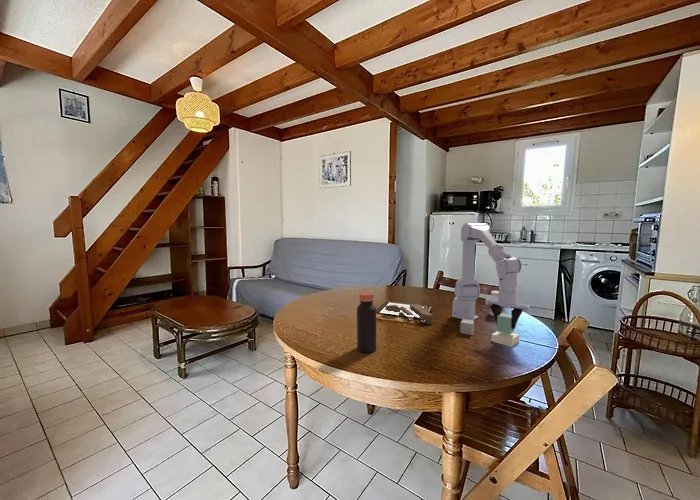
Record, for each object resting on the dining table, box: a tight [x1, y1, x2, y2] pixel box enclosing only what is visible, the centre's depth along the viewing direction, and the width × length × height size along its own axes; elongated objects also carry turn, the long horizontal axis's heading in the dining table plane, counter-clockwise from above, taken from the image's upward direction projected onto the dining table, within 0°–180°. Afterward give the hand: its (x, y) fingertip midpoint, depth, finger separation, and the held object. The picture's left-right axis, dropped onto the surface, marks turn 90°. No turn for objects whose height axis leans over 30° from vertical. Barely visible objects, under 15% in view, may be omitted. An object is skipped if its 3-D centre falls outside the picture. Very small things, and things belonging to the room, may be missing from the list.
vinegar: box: [356, 291, 377, 354], centre depth 103 cm, size 7×7×20 cm
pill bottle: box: [488, 290, 505, 317], centre depth 139 cm, size 6×6×11 cm
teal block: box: [496, 312, 515, 335], centre depth 108 cm, size 4×4×6 cm
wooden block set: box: [384, 303, 434, 325], centre depth 136 cm, size 17×6×18 cm
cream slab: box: [491, 330, 520, 348], centre depth 109 cm, size 7×7×3 cm
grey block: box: [459, 319, 475, 336], centre depth 118 cm, size 4×4×4 cm
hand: (505, 326), depth 109 cm, fingers closed on teal block, 4 cm apart
